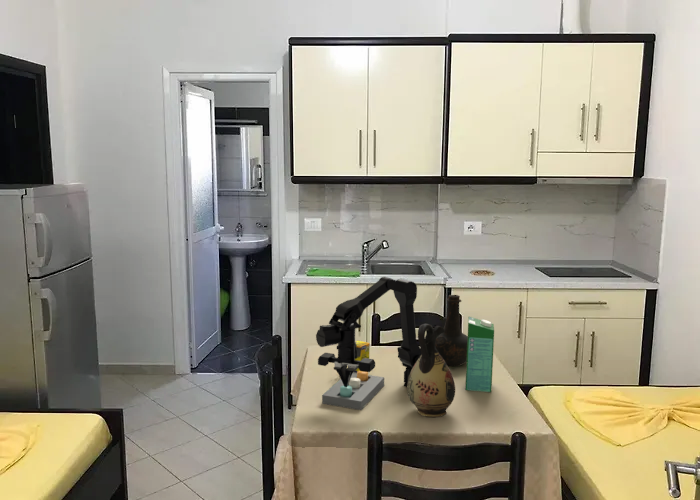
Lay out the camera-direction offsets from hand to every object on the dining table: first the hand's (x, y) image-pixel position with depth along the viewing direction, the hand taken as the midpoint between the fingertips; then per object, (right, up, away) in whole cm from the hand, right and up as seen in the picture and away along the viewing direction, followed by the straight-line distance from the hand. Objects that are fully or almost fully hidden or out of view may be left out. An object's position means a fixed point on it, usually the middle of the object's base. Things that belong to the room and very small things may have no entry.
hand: (346, 386), depth 203 cm
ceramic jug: (+27, -7, -7) cm, 29 cm away
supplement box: (+5, -1, +32) cm, 32 cm away
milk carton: (+48, -4, +16) cm, 51 cm away
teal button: (0, -4, +1) cm, 4 cm away
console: (+3, -4, +8) cm, 10 cm away
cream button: (+3, -3, +8) cm, 9 cm away
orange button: (+6, -2, +15) cm, 16 cm away
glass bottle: (+42, 0, +42) cm, 59 cm away
